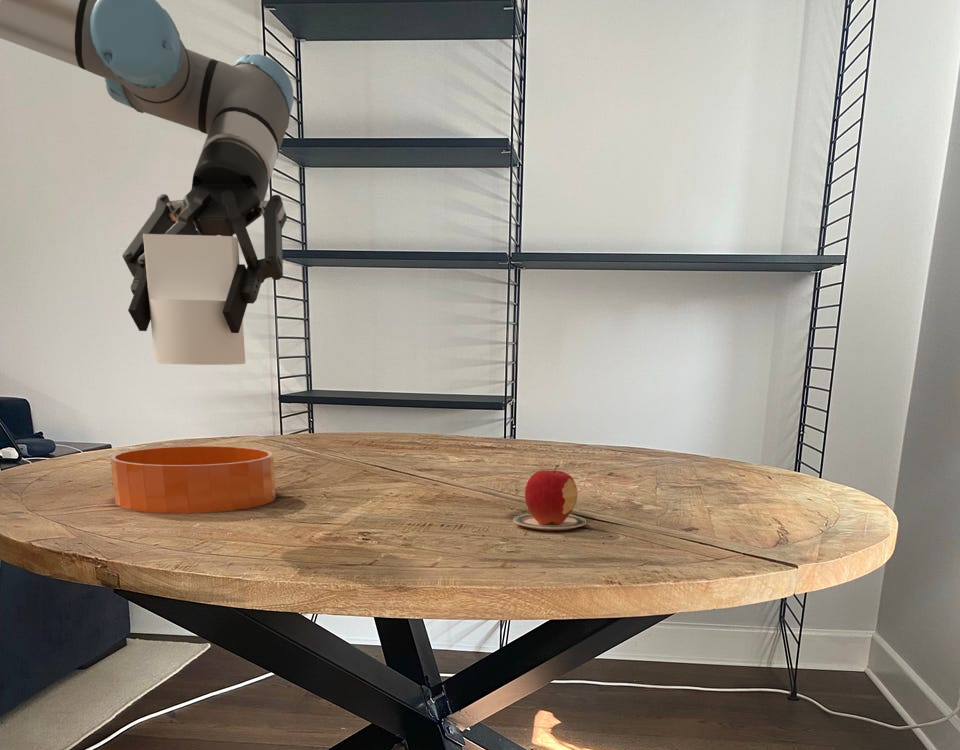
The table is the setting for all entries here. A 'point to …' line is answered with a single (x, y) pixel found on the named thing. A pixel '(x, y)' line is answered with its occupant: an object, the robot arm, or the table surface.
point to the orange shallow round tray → (193, 479)
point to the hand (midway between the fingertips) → (183, 321)
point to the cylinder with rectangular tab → (192, 298)
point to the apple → (550, 502)
